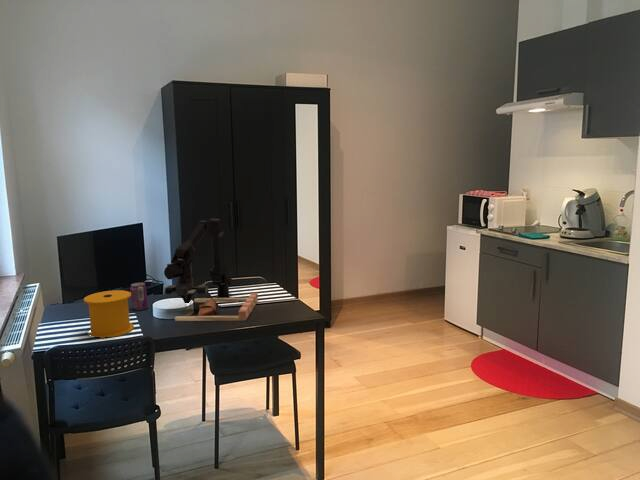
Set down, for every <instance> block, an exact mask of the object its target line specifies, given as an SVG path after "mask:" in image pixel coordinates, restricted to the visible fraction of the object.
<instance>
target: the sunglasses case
mask: <svg viewBox="0 0 640 480" xmlns="http://www.w3.org/2000/svg"><path fill="white" fill-rule="evenodd" d="M197 316H217V302H216V301H215V299H213V297H211V299H209V300H208V301H206V302H203V303H202V304H200V305H198V313H197Z"/></svg>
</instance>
